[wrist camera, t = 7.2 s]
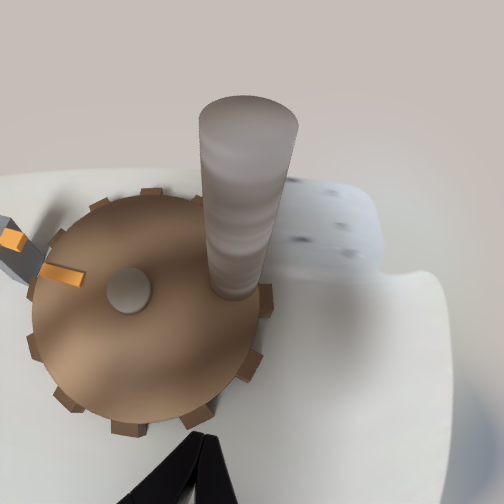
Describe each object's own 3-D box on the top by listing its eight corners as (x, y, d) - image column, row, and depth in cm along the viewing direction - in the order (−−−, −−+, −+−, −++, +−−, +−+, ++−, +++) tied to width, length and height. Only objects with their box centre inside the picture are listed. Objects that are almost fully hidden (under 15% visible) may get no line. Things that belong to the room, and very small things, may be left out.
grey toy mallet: (51, 295, 18) (10, 259, 13) (12, 279, 18) (-25, 244, 13) (64, 263, 20) (29, 222, 15) (25, 251, 20) (-8, 213, 15)
